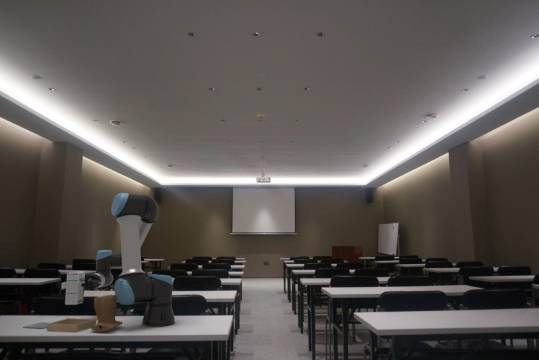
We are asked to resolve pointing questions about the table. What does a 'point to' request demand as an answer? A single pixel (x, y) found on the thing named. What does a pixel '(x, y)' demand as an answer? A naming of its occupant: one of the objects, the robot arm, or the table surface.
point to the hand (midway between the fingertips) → (69, 285)
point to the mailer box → (72, 325)
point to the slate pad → (38, 325)
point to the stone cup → (106, 313)
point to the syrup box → (74, 288)
